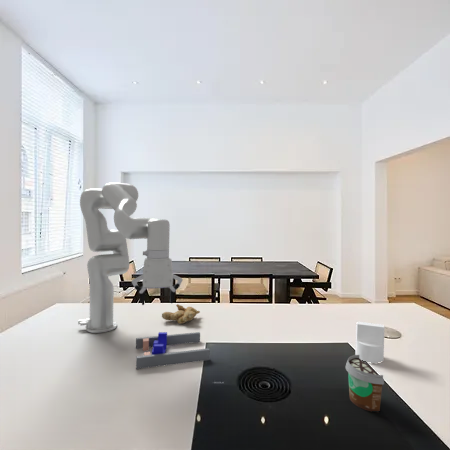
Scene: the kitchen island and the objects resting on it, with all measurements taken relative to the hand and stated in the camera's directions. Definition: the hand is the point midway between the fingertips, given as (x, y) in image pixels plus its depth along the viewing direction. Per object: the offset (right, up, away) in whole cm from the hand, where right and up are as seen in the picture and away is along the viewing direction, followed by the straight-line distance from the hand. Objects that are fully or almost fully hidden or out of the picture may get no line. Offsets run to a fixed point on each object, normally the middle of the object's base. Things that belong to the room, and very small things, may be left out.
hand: (157, 303), depth 105 cm
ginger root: (+4, -18, +36) cm, 40 cm away
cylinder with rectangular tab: (+75, -20, +1) cm, 77 cm away
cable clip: (0, -19, 0) cm, 19 cm away
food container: (+60, -20, -24) cm, 67 cm away
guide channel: (+5, -18, +2) cm, 19 cm away
